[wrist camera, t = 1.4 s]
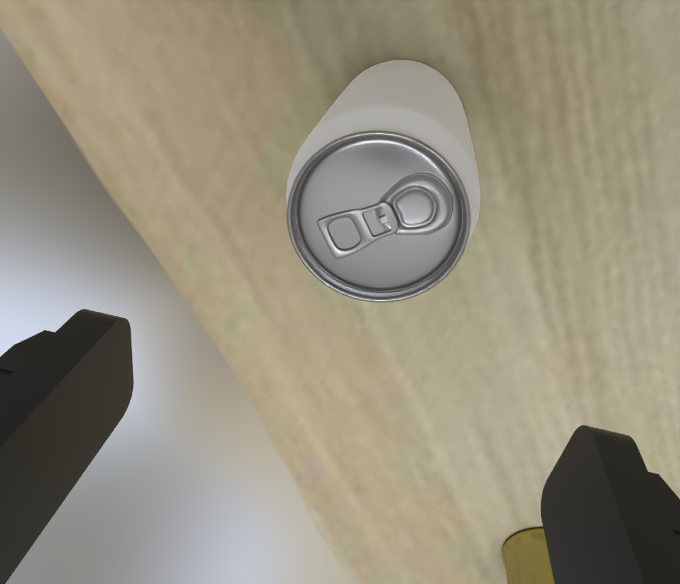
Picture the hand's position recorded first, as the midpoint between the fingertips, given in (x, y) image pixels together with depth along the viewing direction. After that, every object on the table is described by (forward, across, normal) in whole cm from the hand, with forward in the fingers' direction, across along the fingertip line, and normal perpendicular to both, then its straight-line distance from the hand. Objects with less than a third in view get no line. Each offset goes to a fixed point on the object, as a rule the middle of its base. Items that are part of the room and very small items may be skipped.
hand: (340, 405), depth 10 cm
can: (+20, 0, 0) cm, 20 cm away
